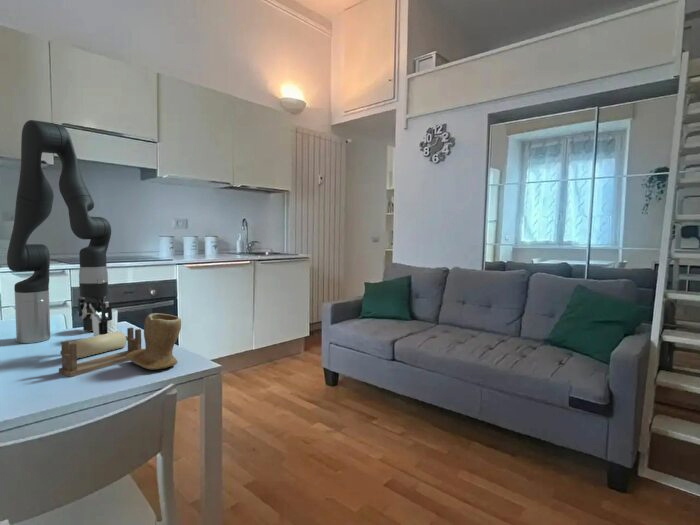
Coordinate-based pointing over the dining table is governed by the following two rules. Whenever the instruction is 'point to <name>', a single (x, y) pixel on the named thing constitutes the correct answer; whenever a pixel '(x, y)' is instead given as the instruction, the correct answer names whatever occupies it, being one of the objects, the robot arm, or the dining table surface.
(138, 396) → the dining table surface
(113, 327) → the white cup
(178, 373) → the dining table surface
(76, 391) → the dining table surface
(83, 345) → the cylinder
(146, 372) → the dining table surface
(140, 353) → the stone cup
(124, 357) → the roll stand
